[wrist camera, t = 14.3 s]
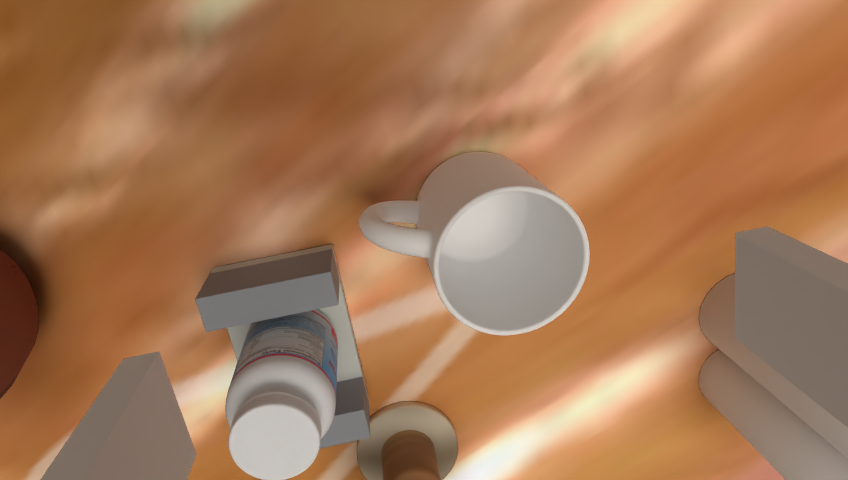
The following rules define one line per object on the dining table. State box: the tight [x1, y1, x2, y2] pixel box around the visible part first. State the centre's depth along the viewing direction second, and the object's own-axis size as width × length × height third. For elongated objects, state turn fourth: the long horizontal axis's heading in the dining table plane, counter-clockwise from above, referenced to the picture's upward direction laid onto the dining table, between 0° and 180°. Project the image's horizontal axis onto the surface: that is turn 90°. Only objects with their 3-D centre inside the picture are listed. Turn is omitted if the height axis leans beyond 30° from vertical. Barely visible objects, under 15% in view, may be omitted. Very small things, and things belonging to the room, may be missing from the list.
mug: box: [359, 152, 589, 335], centre depth 36 cm, size 12×8×10 cm
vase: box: [698, 274, 848, 480], centre depth 37 cm, size 11×7×20 cm, turn 9°
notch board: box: [195, 244, 370, 449], centre depth 40 cm, size 12×8×5 cm, turn 10°
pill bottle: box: [225, 310, 338, 480], centre depth 36 cm, size 6×6×11 cm
